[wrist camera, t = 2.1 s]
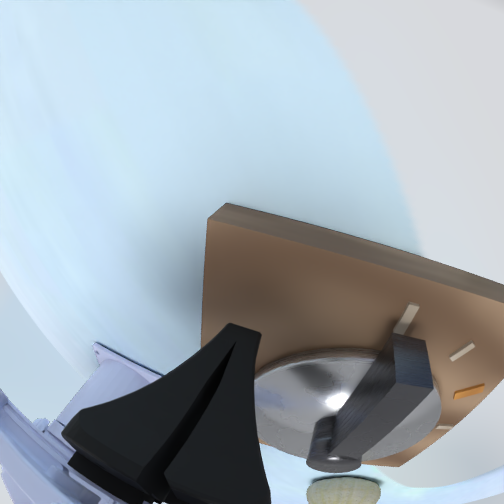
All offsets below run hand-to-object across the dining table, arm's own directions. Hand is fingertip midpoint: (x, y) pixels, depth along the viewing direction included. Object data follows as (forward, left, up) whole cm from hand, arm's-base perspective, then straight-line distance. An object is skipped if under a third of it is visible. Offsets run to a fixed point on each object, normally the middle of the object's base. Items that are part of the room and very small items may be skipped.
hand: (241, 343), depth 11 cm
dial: (-5, -6, -2) cm, 8 cm away
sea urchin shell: (-27, -15, -4) cm, 31 cm away
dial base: (-6, -6, -4) cm, 10 cm away
